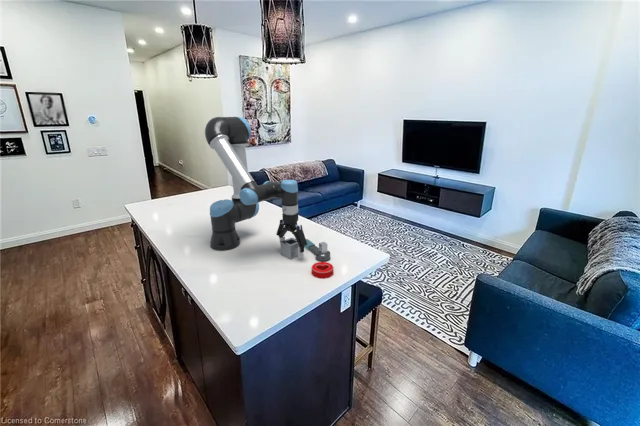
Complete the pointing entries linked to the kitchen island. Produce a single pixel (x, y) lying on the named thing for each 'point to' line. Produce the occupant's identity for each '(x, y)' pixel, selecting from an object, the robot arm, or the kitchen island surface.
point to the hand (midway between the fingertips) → (291, 253)
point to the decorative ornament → (322, 270)
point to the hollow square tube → (289, 248)
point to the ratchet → (318, 251)
